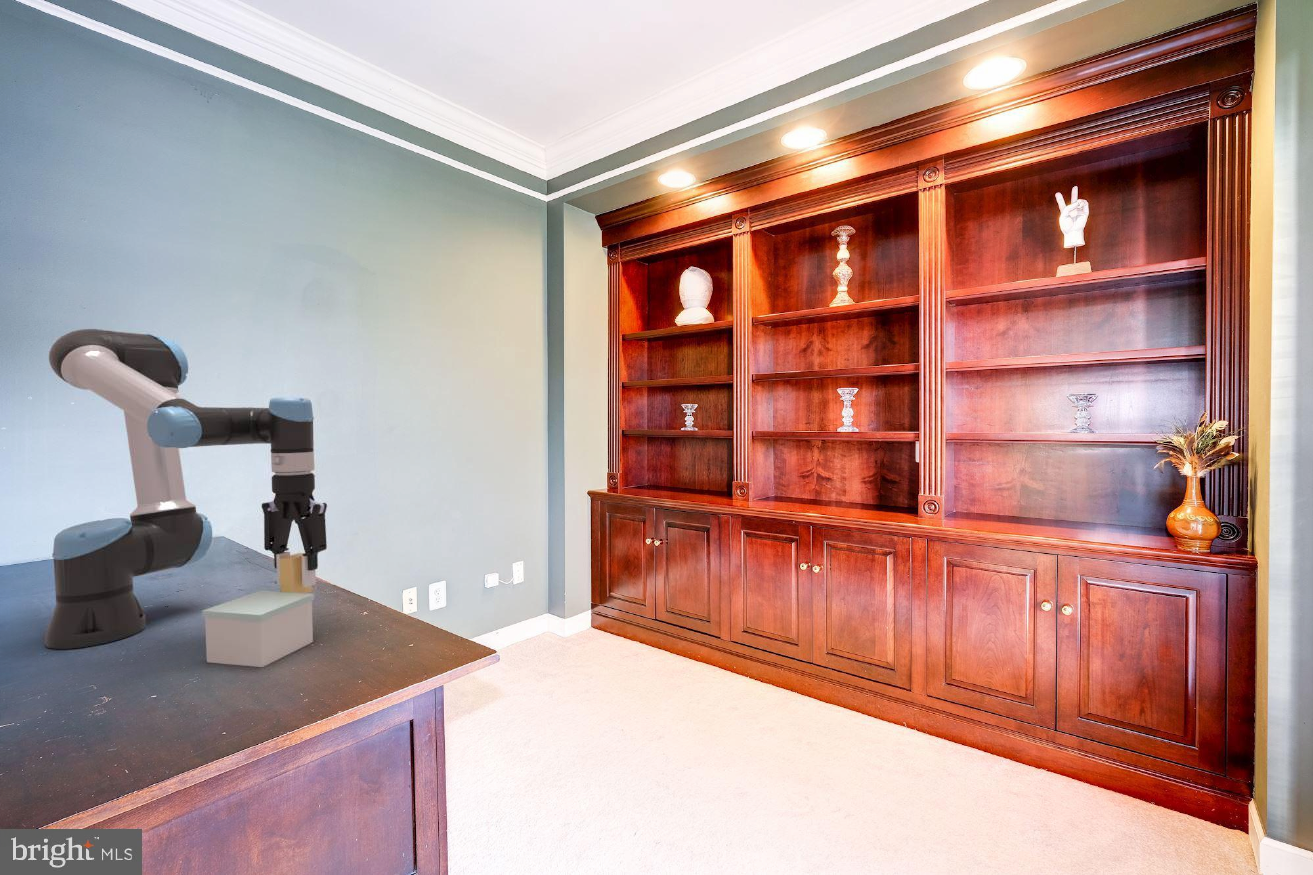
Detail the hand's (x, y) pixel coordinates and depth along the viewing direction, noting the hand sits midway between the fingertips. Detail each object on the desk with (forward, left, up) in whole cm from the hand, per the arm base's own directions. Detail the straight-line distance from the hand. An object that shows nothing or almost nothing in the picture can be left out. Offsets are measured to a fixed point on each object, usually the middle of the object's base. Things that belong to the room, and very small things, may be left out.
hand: (296, 584), depth 121 cm
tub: (0, -9, -10) cm, 14 cm away
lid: (0, -6, -2) cm, 7 cm away
